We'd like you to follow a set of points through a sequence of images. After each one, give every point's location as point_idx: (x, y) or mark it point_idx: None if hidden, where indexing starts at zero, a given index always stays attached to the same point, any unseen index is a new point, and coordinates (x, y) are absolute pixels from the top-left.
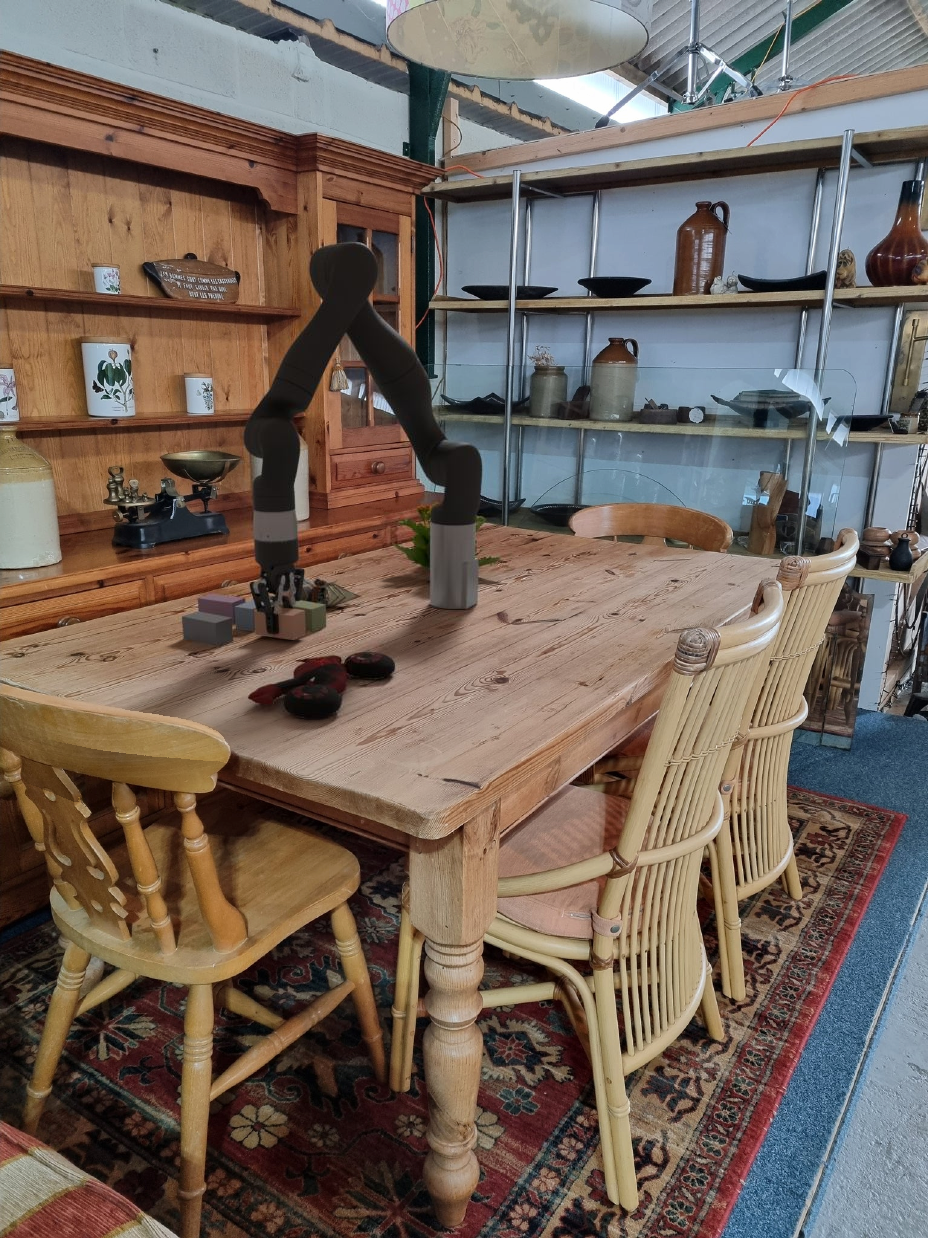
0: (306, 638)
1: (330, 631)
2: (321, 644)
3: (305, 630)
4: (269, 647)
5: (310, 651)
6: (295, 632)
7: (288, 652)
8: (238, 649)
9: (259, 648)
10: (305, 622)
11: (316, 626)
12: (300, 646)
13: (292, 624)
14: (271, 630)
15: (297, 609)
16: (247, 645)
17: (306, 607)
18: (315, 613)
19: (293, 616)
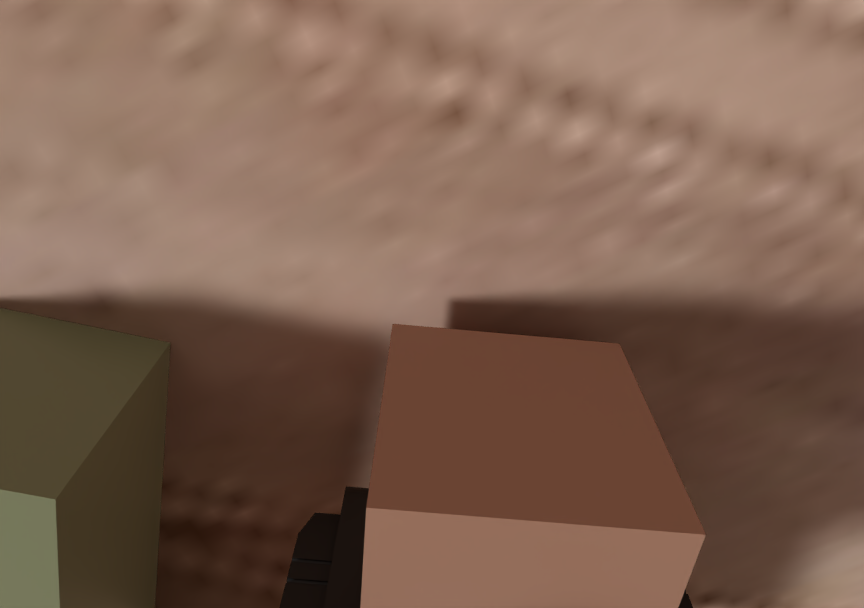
0: (385, 300)
1: (67, 190)
2: (522, 69)
3: (393, 343)
4: (726, 453)
5: (795, 67)
6: (590, 376)
7: (852, 259)
8: (810, 600)
9: (765, 502)
10: (135, 455)
11: (92, 348)
12: (644, 241)
13: (666, 449)
14: None
15: (366, 595)
16: (705, 591)
17: (24, 574)
18: (21, 438)
19: (673, 518)
